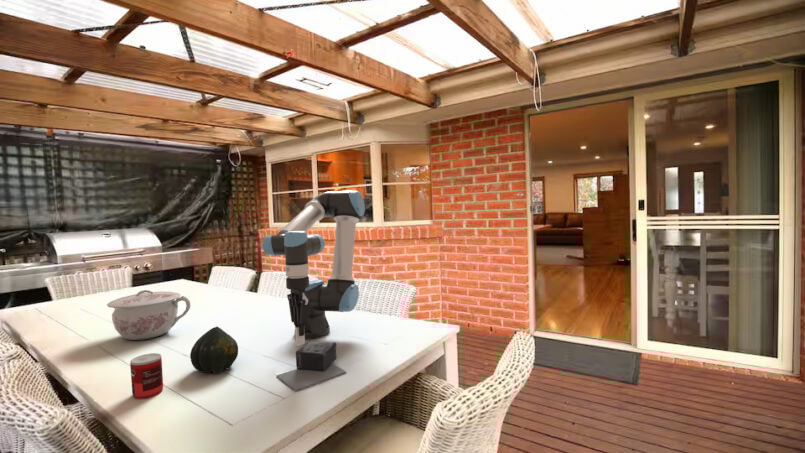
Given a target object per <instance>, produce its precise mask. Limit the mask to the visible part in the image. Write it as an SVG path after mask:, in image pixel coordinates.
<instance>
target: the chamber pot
mask: <svg viewBox="0 0 805 453" xmlns="http://www.w3.org/2000/svg"><path fill="white" fill-rule="evenodd" d="M181 301H182V302H185V306H186V307H185V310H184V311H183V312H182V314H179V315H178V313H179V303H180V302H181ZM106 306H107V307H108V308H112V309H114V310H113V311H112V314H111V322H112V324H113V327H114V330H115V331H116V332H117V333H118V334H119V335H120V336H121V338H123V339H124V340H128V341H143V340H149V339H154V338H157V337H160V336H162V335H165V334H166V333H168V332H169V331H171V329H172V328H173V327H174V326H175V325H176V323H177V322H178V321H179V320H180V319H181V318H183V317H185V316H186V315H187V313H188V312H189V311H190V309H191V307H192V306H191V301H190V299H189V298H188V297H186V296H185V295H182V294H180V293H178V292H173V291H151V290H150V289H144V290H140V291H139V292H137V293H136V294H131V295H130V294H129V295H126V296H123V297H119V298H116V299H113V300H111V301H109V302H108V303H106Z"/></svg>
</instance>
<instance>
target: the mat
mask: <svg viewBox="0 0 805 453" xmlns="http://www.w3.org/2000/svg"><path fill="white" fill-rule="evenodd" d="M345 374H347V370H344V369H342V368H341V367H339V366H338V365H336V364H334V363H332V364H331V365H330V366H329V367H328V368H327V369H326V370H325V371H318V370H306V369H297V368H295V369H293V370H289V371H285V372H283V373H280V374H278V375H276V378H277V379H279V380H280V381H281V382H283V383H284V384H285V385H286V386H287V387H289V388H290V389H291V390H292V391H294V392H299V391H301V390H305V389H307V388H310V387H313V386H316V385H318V384H322V383H323V382H326V381H329V380H331V379H334V378H336V377H339V376H343V375H345Z"/></svg>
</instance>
